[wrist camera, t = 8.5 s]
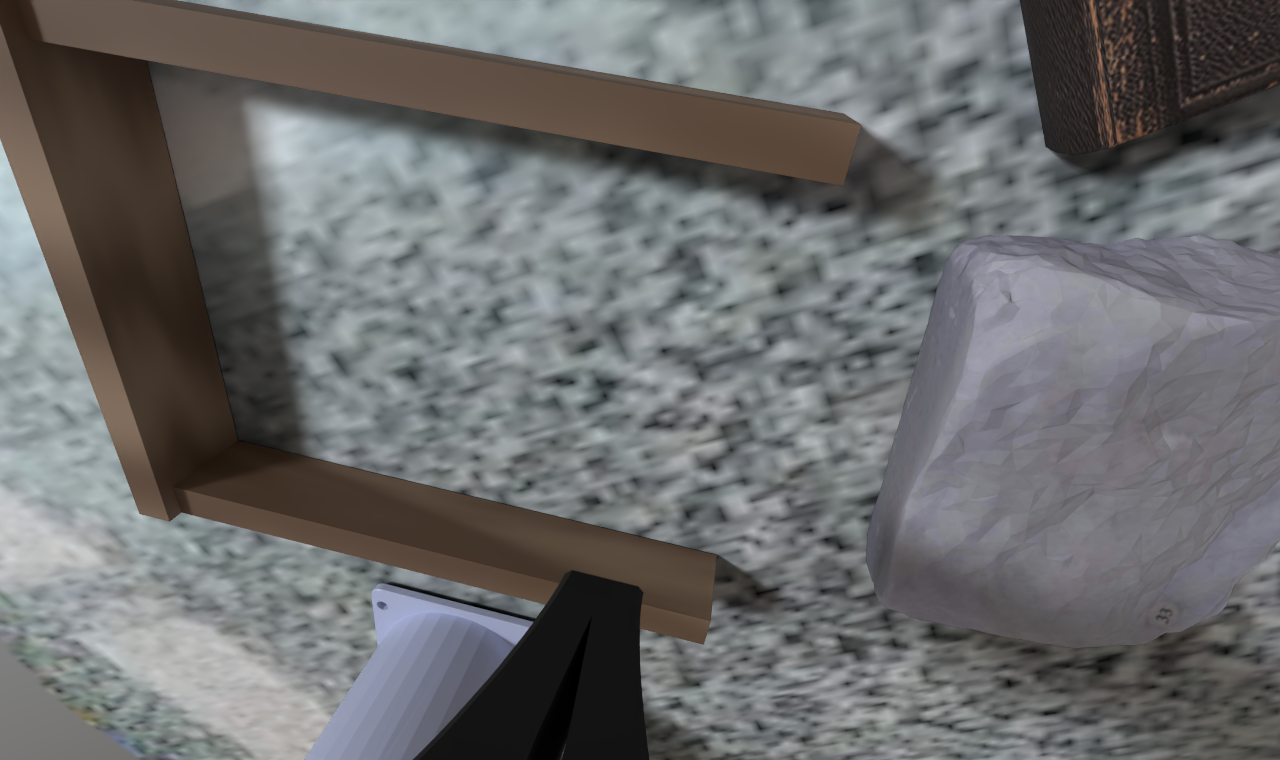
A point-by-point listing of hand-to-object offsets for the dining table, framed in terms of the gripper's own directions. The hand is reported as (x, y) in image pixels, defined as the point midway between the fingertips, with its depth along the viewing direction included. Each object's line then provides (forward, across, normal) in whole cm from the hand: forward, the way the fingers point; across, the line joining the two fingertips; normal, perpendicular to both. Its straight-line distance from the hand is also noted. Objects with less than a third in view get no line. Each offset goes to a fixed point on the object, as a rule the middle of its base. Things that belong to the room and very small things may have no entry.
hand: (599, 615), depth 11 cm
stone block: (+10, -12, -1) cm, 15 cm away
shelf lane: (+9, +7, 0) cm, 12 cm away
